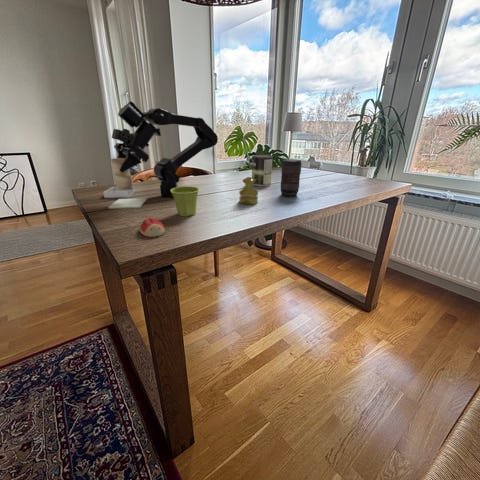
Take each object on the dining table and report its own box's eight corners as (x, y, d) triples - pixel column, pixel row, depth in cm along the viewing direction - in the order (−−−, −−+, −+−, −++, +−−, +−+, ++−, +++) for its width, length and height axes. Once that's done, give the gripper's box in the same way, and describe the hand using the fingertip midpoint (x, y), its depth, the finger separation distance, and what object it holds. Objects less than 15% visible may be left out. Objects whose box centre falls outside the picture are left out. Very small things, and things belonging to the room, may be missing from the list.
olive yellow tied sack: (254, 205, 99) (255, 179, 95) (236, 203, 102) (236, 178, 98) (259, 200, 106) (260, 176, 102) (242, 199, 108) (243, 174, 104)
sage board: (146, 199, 106) (146, 198, 106) (139, 208, 96) (138, 206, 96) (119, 200, 105) (118, 198, 105) (108, 208, 95) (108, 207, 95)
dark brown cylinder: (300, 194, 116) (303, 159, 110) (295, 198, 109) (299, 162, 103) (282, 192, 119) (285, 158, 113) (277, 196, 112) (279, 160, 106)
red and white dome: (146, 240, 71) (144, 228, 69) (136, 229, 78) (134, 218, 77) (169, 235, 74) (168, 223, 73) (158, 224, 81) (157, 214, 80)
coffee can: (253, 186, 129) (253, 157, 123) (250, 182, 138) (250, 154, 133) (273, 186, 130) (275, 157, 124) (268, 181, 140) (270, 154, 134)
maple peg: (128, 186, 102) (123, 157, 98) (135, 188, 99) (130, 158, 94) (114, 189, 98) (108, 159, 94) (121, 191, 95) (115, 160, 90)
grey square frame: (134, 192, 118) (133, 186, 116) (127, 197, 109) (126, 191, 108) (113, 192, 117) (112, 186, 116) (104, 198, 108) (103, 192, 107)
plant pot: (194, 219, 85) (193, 193, 82) (168, 217, 87) (165, 191, 84) (204, 210, 94) (202, 187, 90) (179, 208, 96) (177, 185, 92)
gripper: (114, 120, 97) (89, 153, 95) (134, 120, 85) (106, 158, 83) (138, 141, 105) (115, 172, 103) (159, 144, 93) (134, 179, 91)
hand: (117, 170), depth 95 cm, fingers closed on maple peg, 6 cm apart
